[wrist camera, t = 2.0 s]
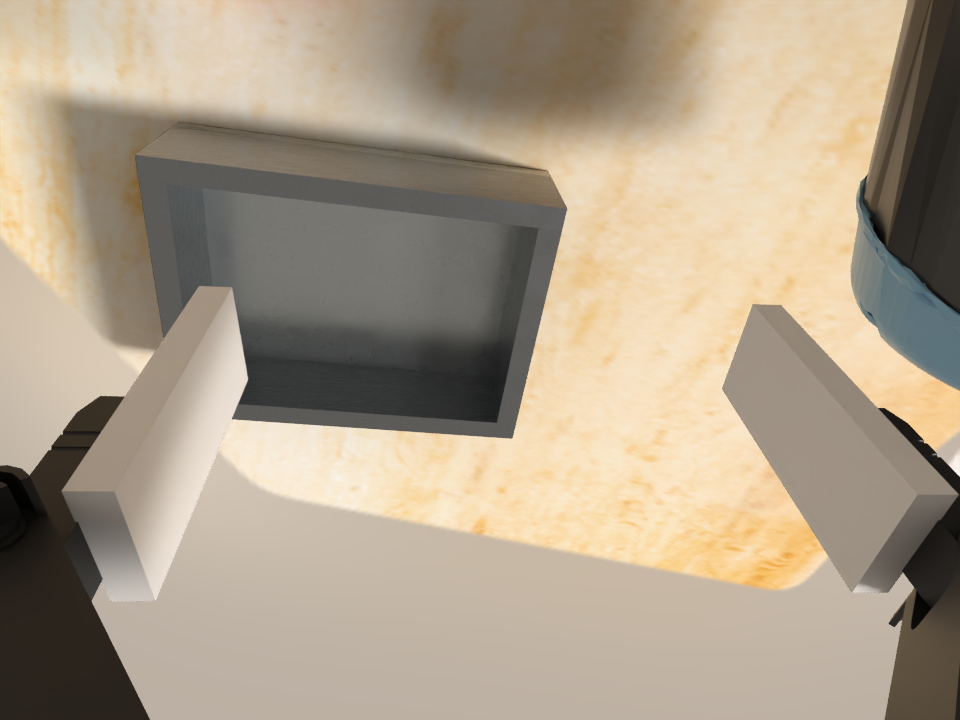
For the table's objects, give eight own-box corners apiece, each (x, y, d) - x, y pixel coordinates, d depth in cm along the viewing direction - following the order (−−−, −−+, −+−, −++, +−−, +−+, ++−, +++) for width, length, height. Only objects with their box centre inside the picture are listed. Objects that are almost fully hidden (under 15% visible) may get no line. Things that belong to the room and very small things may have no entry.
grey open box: (205, 358, 42) (175, 415, 37) (178, 122, 33) (134, 154, 28) (503, 382, 44) (512, 438, 39) (548, 171, 36) (567, 208, 31)
